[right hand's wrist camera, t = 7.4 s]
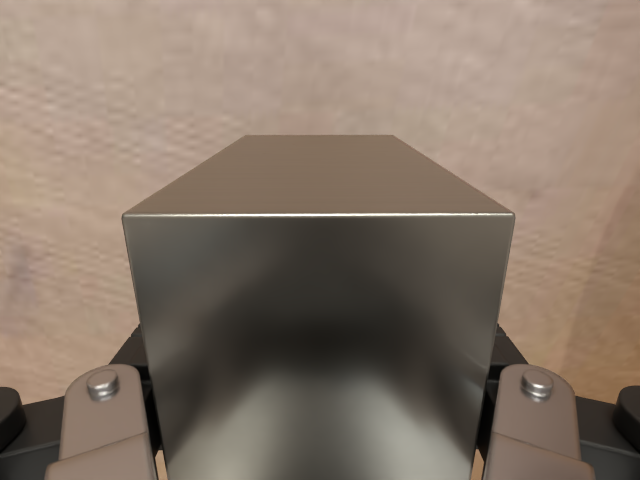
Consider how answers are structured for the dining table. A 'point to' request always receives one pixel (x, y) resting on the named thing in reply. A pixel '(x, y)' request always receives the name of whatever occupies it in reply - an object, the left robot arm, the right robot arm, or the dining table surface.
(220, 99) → the dining table surface
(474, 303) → the box
